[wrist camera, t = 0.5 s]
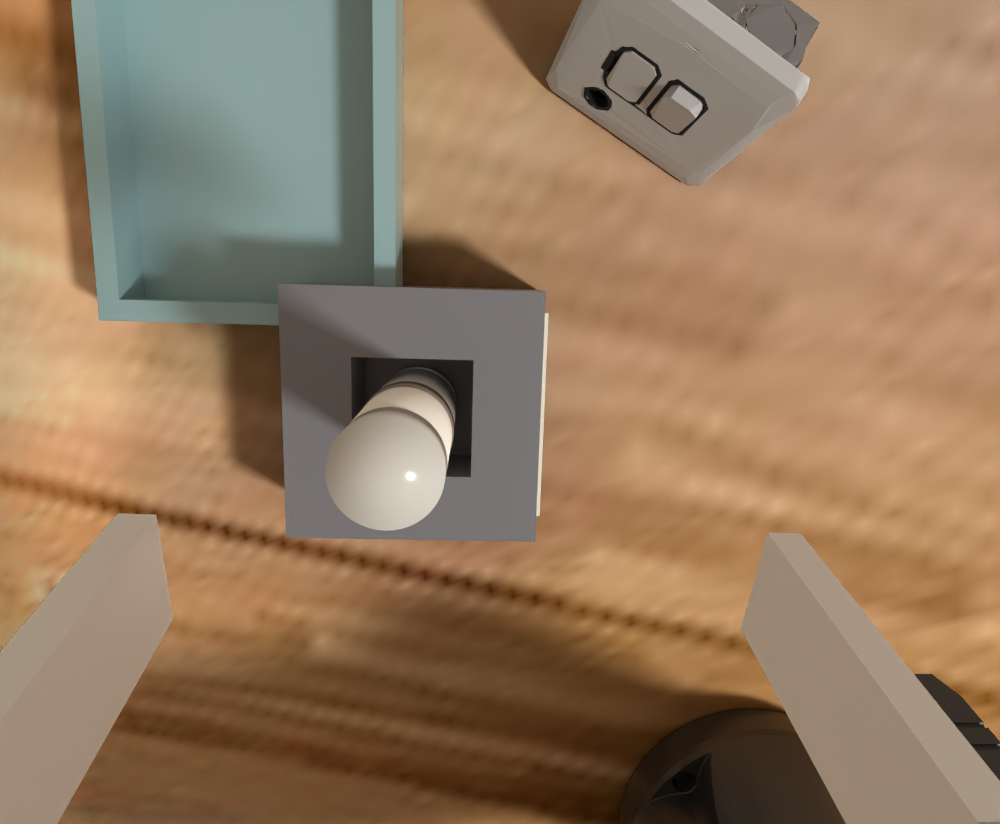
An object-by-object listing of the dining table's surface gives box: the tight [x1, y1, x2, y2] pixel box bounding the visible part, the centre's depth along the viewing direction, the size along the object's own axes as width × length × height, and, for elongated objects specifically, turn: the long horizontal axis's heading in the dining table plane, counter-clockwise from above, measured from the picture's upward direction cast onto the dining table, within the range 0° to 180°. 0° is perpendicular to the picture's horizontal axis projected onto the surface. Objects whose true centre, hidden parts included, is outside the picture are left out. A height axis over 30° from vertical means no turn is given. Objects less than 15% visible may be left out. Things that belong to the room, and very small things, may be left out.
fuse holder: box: [278, 283, 548, 542], centre depth 34 cm, size 12×12×5 cm
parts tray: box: [71, 0, 403, 325], centre depth 32 cm, size 20×14×3 cm
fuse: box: [325, 365, 458, 531], centre depth 29 cm, size 4×4×13 cm
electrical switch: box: [546, 0, 819, 186], centre depth 29 cm, size 9×5×9 cm, turn 57°
